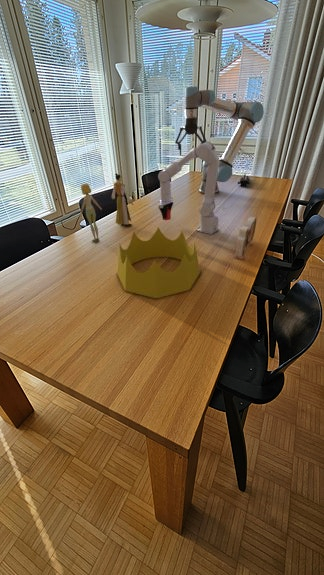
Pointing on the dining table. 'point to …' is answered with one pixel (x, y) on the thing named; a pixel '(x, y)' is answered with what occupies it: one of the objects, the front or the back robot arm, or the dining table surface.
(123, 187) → the figurine
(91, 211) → the sculpture
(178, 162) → the front robot arm
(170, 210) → the cylinder
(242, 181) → the toy
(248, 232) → the cutout
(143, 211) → the dining table surface
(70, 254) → the dining table surface
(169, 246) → the crown
